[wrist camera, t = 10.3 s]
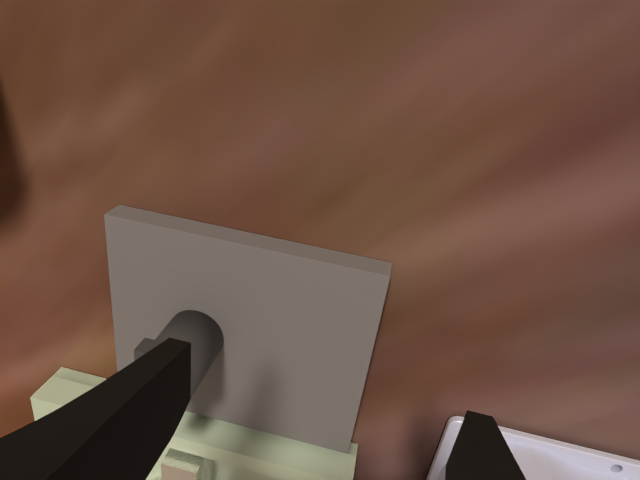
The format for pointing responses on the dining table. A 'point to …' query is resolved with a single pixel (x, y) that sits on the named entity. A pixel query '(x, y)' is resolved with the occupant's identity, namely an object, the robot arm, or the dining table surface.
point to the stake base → (249, 320)
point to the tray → (219, 441)
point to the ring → (185, 467)
